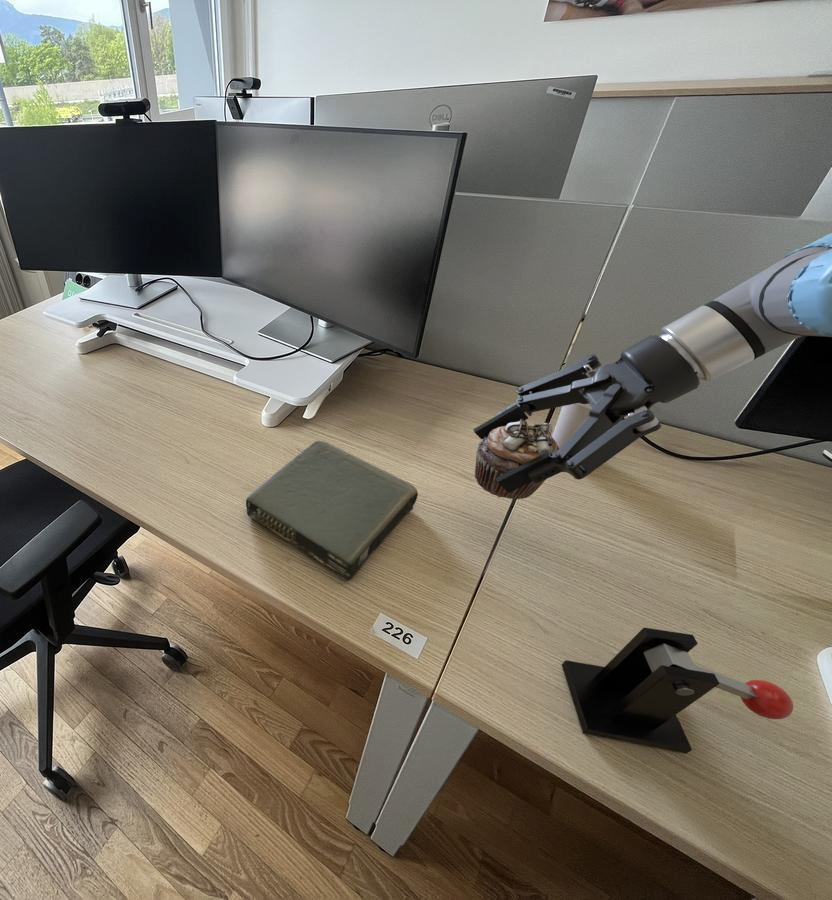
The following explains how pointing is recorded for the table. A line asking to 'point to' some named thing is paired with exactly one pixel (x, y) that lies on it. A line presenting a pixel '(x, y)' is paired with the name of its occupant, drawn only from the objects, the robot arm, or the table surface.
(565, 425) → the coffee cup
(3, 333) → the table surface
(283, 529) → the network switch
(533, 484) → the cupcake
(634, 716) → the switch bracket
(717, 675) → the switch lever
